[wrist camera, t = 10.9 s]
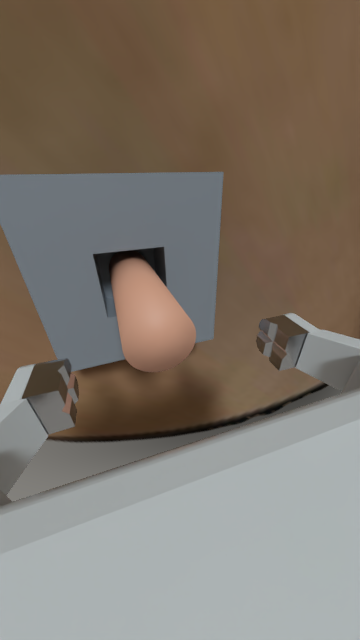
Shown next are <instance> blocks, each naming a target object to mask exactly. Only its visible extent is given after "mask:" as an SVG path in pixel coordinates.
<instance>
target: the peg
mask: <svg viewBox="0 0 360 640" xmlns="http://www.w3.org/2000/svg"><path fill="white" fill-rule="evenodd" d="M109 274H110V279H111V285H112V291H113V297H114V303H115V309H116V315H117V321H118V327H119V333H120V338H121V344H122V350H123V354H124V357H125V359H126V360H127V362H128V363H129V364H130V365H131V366H133V367H134V368H136V369H138V370H141V371H145V372H160V371H165V370H168V369H170V368H173V367H175V366H176V365H178V364H179V363H181V362H182V361H183V360H184V359H185V358H186V357H187V356H188V355H189V354H190V352H191V351H192V349H193V347H194V344H195V341H196V329H195V326H194V324H193V322H192V321H191V319H190V318H189V317H188V315H187V314H186V313H185V311H184V310H183V309H182V307H181V306H180V305H179V303H178V302H177V301H176V299H175V298H174V297H173V295H172V294H171V293H170V291H169V290H168V289H167V287H166V286H165V285H164V283H163V282H162V281H161V279H160V278H159V277H158V275H157V274H156V273H155V271H154V270H153V269H152V267H151V266H150V265H149V263H148V262H147V261H146V259H145V258H144V257H143V256H142V255H141V254H140V253H139V252H137V251H135V250H128V251H119V252H117V253H116V254H114V255H113V257H112V258H111V260H110V263H109Z"/></svg>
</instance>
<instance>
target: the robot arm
mask: <svg viewBox="0 0 360 640" xmlns="http://www.w3.org/2000/svg"><path fill="white" fill-rule="evenodd" d="M259 329H260V330H261V331H260V332H259V334H258V335H257V339H256V343H257V347H258V349H259V351H260V352H261V353H262V354H263V355H265V356H268V357H269V361H270V362H271V363H272V364H273V365H274V366H275V367H276V368H277V369H278V370H279V371H281V370H285V369H289V368H293V367H296V368H297V369H299V370H301V371H303V372H305V373H307V374H309V375H311V376H313V377H315V378H317V379H319V380H321V381H322V382H324V383H326V384H328V385H330V386H332V387H334V388H336V389H338V390H340V391H342V393H341V394H339V395H336V396H332V397H330V398H327V399H323V400H321V401H317V402H315V403H311V404H309V405H305V406H302V407H299V408H296V409H293V410H290V411H287V412H284V413H281V414H278V415H275V416H272V417H269V418H266V419H263V420H260V421H257V422H254V423H251V424H248V425H245V426H242V427H239V428H236V429H232V430H230V431H227V432H223V433H220V434H217V435H214V436H211V437H208V438H205V439H202V440H199V441H196V442H193V443H190V444H187V445H184V446H181V447H178V448H175V449H172V450H169V451H166V452H162V453H160V454H156V455H153V456H150V457H147V458H144V459H141V460H139V461H135V462H132V463H129V464H126V465H123V466H120V467H117V468H114V469H111V470H108V471H105V472H102V473H99V474H96V475H92V476H89V477H86V478H83V479H80V480H77V481H74V482H71V483H68V484H65V485H62V486H59V487H56V488H53V489H50V490H47V491H44V492H41V493H38V494H35V495H32V496H29V497H26V498H22V499H19V500H16V501H13V502H12V501H11V500H10V499H9V498H8V497H7V496H6V495H7V494H8V492H9V491H10V489H11V488H12V487H13V485H14V484H15V482H16V481H17V480H18V478H19V477H20V475H21V474H22V472H23V471H24V469H25V468H26V467H27V465H28V464H29V463H30V461H31V460H32V458H33V457H34V455H35V454H36V453H37V451H38V450H39V448H40V447H41V445H42V444H43V443H44V441H45V440H46V438H47V437H48V434H51V433H55V432H58V431H61V430H65V429H68V428H71V427H75V423H76V415H77V409H76V406H75V403H76V402H77V401H78V397H79V389H78V382H77V379H76V376H75V375H74V374H72V373H71V368H72V366H71V363H70V361H69V359H67V358H65V359H59V360H54V361H48V362H43V363H37V364H32V365H27V366H22V367H20V368H18V369H17V371H16V373H15V375H14V377H13V379H12V381H11V383H10V385H9V387H8V390H7V392H6V394H5V396H4V398H3V400H2V402H1V404H0V640H360V339H356V338H352V337H349V336H345V335H341V334H337V333H334V332H330V331H326V330H319V329H318V328H316V327H314V326H313V325H311V324H310V323H308V322H307V321H305V320H303V319H302V318H300V317H299V316H297V315H296V314H293V313H288V314H284V315H281V316H276V317H271V318H266V319H262V320H261V321H260V324H259Z"/></svg>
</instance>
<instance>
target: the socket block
mask: <svg viewBox="0 0 360 640" xmlns="http://www.w3.org/2000/svg"><path fill="white" fill-rule="evenodd" d="M222 187H223V172H186V173H108V174H30V175H0V224H1V226H2V229H3V231H4V233H5V236H6V238H7V240H8V243H9V245H10V248H11V250H12V252H13V255H14V257H15V259H16V262H17V264H18V267H19V269H20V271H21V274H22V276H23V278H24V281H25V283H26V285H27V288H28V290H29V293H30V295H31V297H32V300H33V302H34V304H35V307H36V309H37V312H38V314H39V316H40V319H41V321H42V323H43V326H44V328H45V331H46V333H47V335H48V338H49V340H50V342H51V345H52V347H53V349H54V352H55V354H56V357H57V359H58V360H59V359H65V358H67V359H69V361H70V363H71V366H72V368H71V372H72V371H76V370H81V369H85V368H89V367H94V366H98V365H102V364H107V363H111V362H115V361H120V360H124V359H125V357H124V354H123V350H122V344H121V338H120V333H119V327H118V321H117V315H116V309H115V303H114V297H113V291H112V285H111V279H110V274H109V263H110V260H111V258H112V257H113V255H114V254H116V253H117V252H119V251H128V250H135V251H137V252H139V253H140V254H141V255H142V256H143V257H144V258H145V259H146V261H147V262H148V263H149V265H150V266H151V267H152V269H153V270H154V271H155V273H156V274H157V275H158V277H159V278H160V279H161V281H162V282H163V283H164V285H165V286H166V287H167V289H168V290H169V291H170V293H171V294H172V295H173V297H174V298H175V299H176V301H177V302H178V303H179V305H180V306H181V307H182V309H183V310H184V311H185V313H186V314H187V315H188V317H189V318H190V319H191V321H192V322H193V324H194V326H195V329H196V341H195V343H197V342H201V341H206V340H210V339H213V337H214V320H215V303H216V287H217V270H218V254H219V237H220V220H221V204H222Z"/></svg>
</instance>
